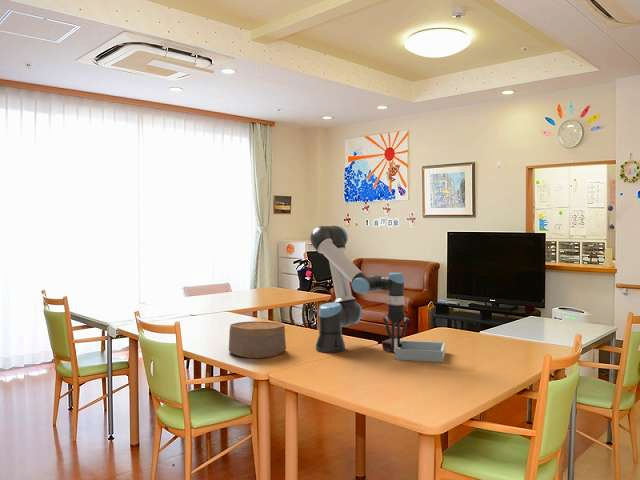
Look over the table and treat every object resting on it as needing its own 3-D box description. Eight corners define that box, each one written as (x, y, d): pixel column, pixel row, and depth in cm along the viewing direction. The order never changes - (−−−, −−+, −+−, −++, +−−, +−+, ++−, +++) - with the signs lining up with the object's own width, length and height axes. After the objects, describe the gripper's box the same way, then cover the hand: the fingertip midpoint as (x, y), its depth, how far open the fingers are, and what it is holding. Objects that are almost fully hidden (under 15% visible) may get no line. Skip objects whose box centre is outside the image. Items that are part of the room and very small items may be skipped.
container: (294, 350, 279) (294, 321, 279) (266, 362, 254) (266, 330, 254) (248, 345, 291) (247, 317, 290) (217, 356, 266) (217, 326, 265)
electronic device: (393, 345, 269) (404, 339, 273) (380, 341, 277) (391, 335, 281) (395, 353, 270) (406, 347, 274) (382, 349, 278) (393, 343, 282)
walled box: (395, 359, 257) (395, 348, 257) (400, 350, 277) (400, 340, 277) (442, 362, 251) (442, 351, 251) (445, 352, 271) (445, 342, 271)
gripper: (381, 304, 265) (381, 352, 266) (408, 305, 261) (408, 354, 262) (384, 302, 272) (384, 349, 273) (410, 303, 269) (410, 350, 269)
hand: (395, 351), depth 267 cm, fingers closed
